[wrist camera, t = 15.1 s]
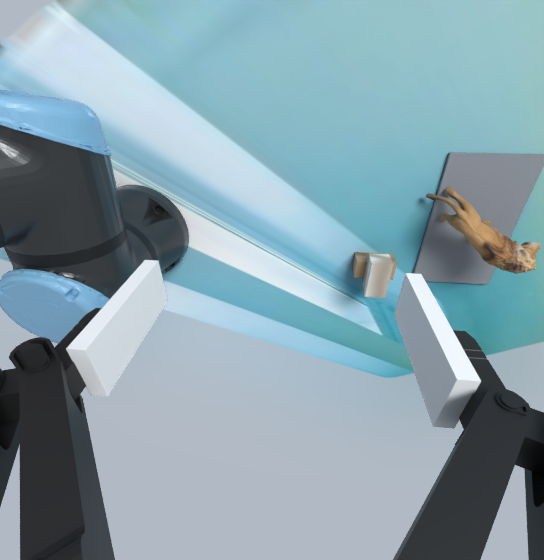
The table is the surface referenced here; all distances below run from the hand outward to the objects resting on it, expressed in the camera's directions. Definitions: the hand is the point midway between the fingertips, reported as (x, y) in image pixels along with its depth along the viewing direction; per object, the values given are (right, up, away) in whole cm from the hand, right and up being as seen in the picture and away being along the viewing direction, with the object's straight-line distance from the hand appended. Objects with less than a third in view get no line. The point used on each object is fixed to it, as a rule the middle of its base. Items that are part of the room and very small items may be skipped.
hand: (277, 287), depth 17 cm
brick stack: (+16, +4, +34) cm, 38 cm away
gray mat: (+29, +9, +29) cm, 42 cm away
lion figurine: (+28, +9, +28) cm, 41 cm away
